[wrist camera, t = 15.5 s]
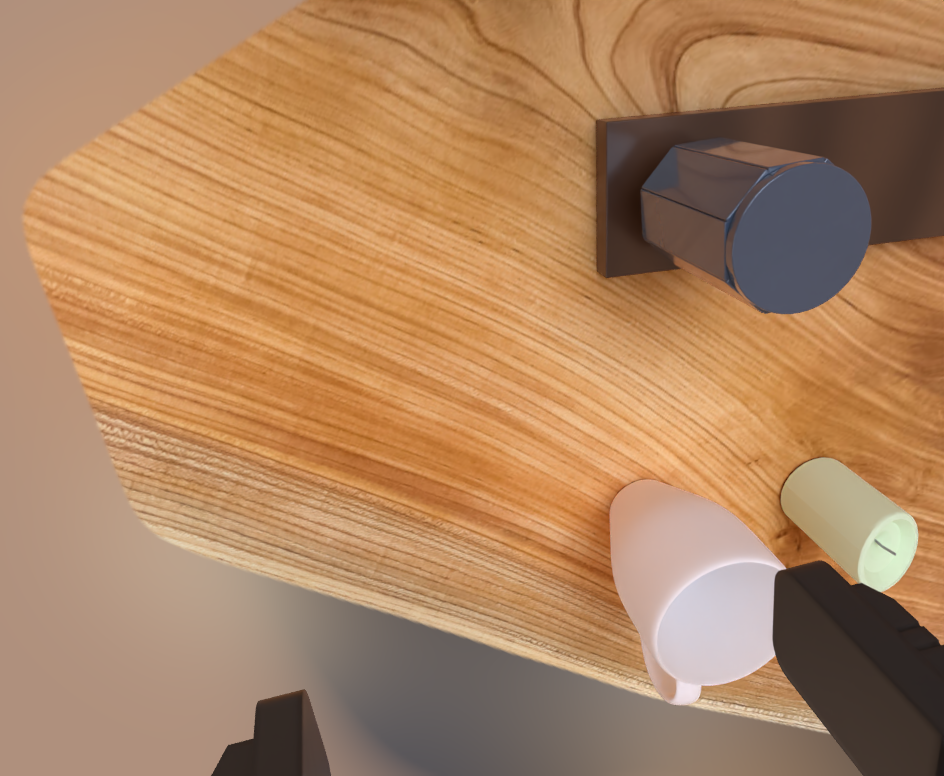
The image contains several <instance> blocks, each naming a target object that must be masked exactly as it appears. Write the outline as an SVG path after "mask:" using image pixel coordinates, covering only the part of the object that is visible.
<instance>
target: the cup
mask: <svg viewBox="0 0 944 776" xmlns="http://www.w3.org/2000/svg"><path fill="white" fill-rule="evenodd" d="M640 193H641V215H642V237H643V238H644V240H645V241H646V242H648V243H649V244H650V245H651V246H653V247H654V248H655V249H656V250H657V251H659V252H660V253H661V254H662V255H664V256H665V257H666V258H667V259H669V260H670V261H671V262H672V263H673V264H675V265H676V266H678V267H680V268H682V269H684V270H685V271H687V272H689V273H691V274H693V275H694V276H696V277H698V278H700V279H702V280H703V281H705V282H707V283H709V284H711V285H712V286H714V287H716V288H718V289H720V290H721V291H723V292H725V293H727V294H728V295H730V296H732V297H734V298H736V299H737V300H739V301H741V302H743V303H745V304H746V305H748V306H750V307H752V308H754V309H755V310H757V311H759V312H761V313H765V314H767V313H771V312H772V313H777V314H794V313H800V312H804V311H808V310H810V309H813V308H815V307H817V306H819V305H821V304H823V303H825V302H826V301H828V300H829V299H831V298H832V297H833V296H835V295H836V294H837V293H838V292H839V291H840V290H841V289H842V288H843V287H844V286H845V285H846V284H847V283H848V282H849V281H850V279H851V278H852V277H853V275H854V274H855V272H856V271H857V269H858V268H859V266H860V264H861V262H862V260H863V258H864V255H865V253H866V250H867V247H868V243H869V239H870V234H871V209H870V205H869V201H868V198H867V196H866V193H865V191H864V190H863V188H862V186H861V185H860V183H859V182H858V181H857V180H856V179H855V178H854V177H853V176H852V175H851V174H850V173H848V172H847V171H845V170H843V169H842V168H840V167H837V166H835V165H834V164H833V163H832V162H831V161H830V160H829V159H828V158H824V157H820V156H815V155H810V154H804V153H799V152H794V151H789V150H783V149H778V148H773V147H768V146H762V145H757V144H752V143H747V142H741V141H736V140H731V139H725V138H720V137H718V138H712V139H707V140H701V141H695V142H690V143H684V144H678V145H675V146H674V147H672V148H671V149H670V150H669V152H668V153H667V154H666V156H665V157H664V158H663V160H662V161H661V162H660V163H659V165H658V166H657V167H656V169H655V170H654V171H653V173H652V174H651V175H650V177H649V178H648V179H647V181H646V182H645V183H644V184H643V186H642V189H641V190H640Z"/></svg>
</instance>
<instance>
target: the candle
mask: <svg viewBox="0 0 944 776" xmlns="http://www.w3.org/2000/svg"><path fill="white" fill-rule="evenodd" d="M780 501H781V506H782V509H783V511H784V513H785V514H786V515H787V516H788V517H789V518H790V519H791V520H792V521H793V522H794V523H795V524H796V525H797V526H798V527H799V528H800V529H801V530H802V531H804V532H805V533H806V534H807V535H808V536H809V537H810V538H811V539H812V540H813V541H814V542H815V543H816V544H817V545H818V546H819V547H820V548H822V549H823V550H824V551H825V552H826V553H827V554H828V555H829V556H830V557H831V558H832V559H833V560H834V561H835V562H836V563H837V564H838V565H839V566H841V567H842V568H843V569H844V570H845V571H846V572H847V573H848V574H849V575H850V576H851V577H852V578H853V579H854V580H855V581H856V582H857V583H858V584H859V583H863V584H865V585H867V586H869V587H871V588H873V589H875V590H877V591H879V592H883V591H885V590H887V589H889V588H891V587H892V586H893V585H894V584H895V583H897V582H898V581H899V580H900V578H901V577H902V576H903V575H904V574H905V572H906V571H907V569H908V567H909V566H910V564H911V562H912V560H913V557H914V555H915V552H916V548H917V543H918V530H917V524H916V522H915V520H914V518H913V517H912V516H911V515H910V514H909V513H907V512H906V511H905V510H903V509H902V508H901V507H899V506H898V505H897V504H895V503H894V502H893V501H891V500H890V499H889V498H887V497H886V496H885V495H883V494H882V493H881V492H879V491H878V490H877V489H875V488H874V487H873V486H871V485H870V484H869V483H867V482H866V481H865V480H863V479H862V478H861V477H859V476H858V475H857V474H855V473H854V472H853V471H851V470H850V469H849V468H847V467H846V466H845V465H843V464H842V463H841V462H839V461H837V460H835V459H833V458H825V457H822V458H817V459H813V460H810V461H808V462H806V463H804V464H803V465H801V466H800V467H798V468H797V469H796V470H795V471H794V472H793V473H792V474H791V475H790V476H789V478H788V479H787V481H786V482H785V484H784V486H783V489H782V492H781V500H780Z"/></svg>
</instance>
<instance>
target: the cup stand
mask: <svg viewBox="0 0 944 776" xmlns="http://www.w3.org/2000/svg"><path fill="white" fill-rule="evenodd" d="M718 137H720V138H725V139H731V140H736V141H741V142H747V143H752V144H757V145H762V146H768V147H773V148H778V149H783V150H789V151H794V152H799V153H804V154H810V155H815V156H820V157H824V158H828V159H829V160H830V161H831V162H832V163H833V164H834V165H835V166H837V167H840V168H842V169H843V170H845V171H847V172H848V173H850V174H851V175H852V176H853V177H854V178H855V179H856V180H857V181H858V182H859V183H860V185H861V186H862V188H863V190H864V191H865V193H866V196H867V198H868V201H869V205H870V209H871V234H870V239H869V243H868V245H873V244H881V243H889V242H897V241H905V240H913V239H921V238H929V237H937V236H944V88H935V89H924V90H913V91H902V92H891V93H881V94H870V95H859V96H848V97H837V98H826V99H816V100H805V101H794V102H783V103H772V104H761V105H751V106H740V107H729V108H718V109H707V110H696V111H686V112H675V113H664V114H653V115H642V116H631V117H621V118H610V119H599V120H597V271H598V272H599V273H600V274H602V275H603V276H604V277H606V278H610V277H618V276H626V275H634V274H642V273H650V272H658V271H666V270H674V269H682V268H680V267H678V266H676V265H675V264H673V263H672V262H671V261H670V260H669V259H667V258H666V257H665V256H664V255H662V254H661V253H660V252H659V251H657V250H656V249H655V248H654V247H653V246H651V245H650V244H649V243H648V242H646V241H645V240H644V238H643V237H642V215H641V193H640V190H641V189H642V186H643V184H644V183H645V182H646V181H647V179H648V178H649V177H650V175H651V174H652V173H653V171H654V170H655V169H656V167H657V166H658V165H659V163H660V162H661V161H662V160H663V158H664V157H665V156H666V154H667V153H668V152H669V150H670V149H671V148H672V147H674V146H675V145H678V144H684V143H690V142H695V141H701V140H707V139H712V138H718Z"/></svg>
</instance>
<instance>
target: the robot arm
mask: <svg viewBox="0 0 944 776" xmlns="http://www.w3.org/2000/svg"><path fill="white" fill-rule="evenodd" d="M772 640H773V647H774V651H775V655H776V658H777V660H778V663H779V665H780V667H781V669H782V671H783V672H784V674H785V676H786V677H787V678H788V680H789V681H790V682H791V683H792V685H793V686H794V687H795V689H796V690H797V691H798V692H799V694H800V695H801V696H802V698H803V699H804V700H805V701H806V703H807V704H808V705H809V707H810V708H811V709H812V710H813V712H814V713H815V714H816V716H817V717H818V718H819V719H820V721H821V722H822V723H823V725H824V726H825V727H826V728H827V730H828V731H829V732H830V734H831V735H832V736H833V737H834V739H835V740H836V741H837V743H838V744H839V745H840V746H841V748H842V749H843V750H844V752H845V753H846V754H847V755H848V757H849V758H850V759H851V760H852V762H853V763H854V764H855V766H856V767H857V768H858V770H859V771H860V772H861V773H862V775H863V776H944V645H940V644H939V640H938V639H937V638H936V637H935V636H934V635H932V634H931V633H930V632H929V631H928V630H927V629H926V628H925V627H924V626H922V627H921V626H920V625H919V623H918V621H917V620H916V619H915V618H914V617H913V616H912V615H911V614H910V613H908V612H907V611H906V610H905V609H904V608H903V607H902V606H901V605H900V604H899V603H898V602H896V601H895V600H894V599H893V598H891V597H889V596H887V595H885V594H883V593H881V592H879V591H877V590H875V589H873V588H871V587H869V586H867V585H865V584H863V583H859V584H855V585H850V584H849V583H848V582H847V581H846V580H845V579H844V578H843V577H842V576H841V575H840V574H839V573H838V572H836V571H835V570H834V569H833V568H832V567H831V566H830V565H829V564H828V563H826V562H824V561H815V562H811V563H807V564H803V565H799V566H795V567H791V568H787V569H784V570H780V571H778V572H777V573H776V575H775V580H774V605H773V634H772ZM211 776H331V773H330V768H329V763H328V759H327V755H326V752H325V749H324V745H323V742H322V739H321V735H320V732H319V729H318V725H317V722H316V719H315V716H314V712H313V709H312V706H311V703H310V699H309V697H308V694H307V692H306V690H300V691H296V692H292V693H289V694H284V695H280V696H276V697H272V698H268V699H264V700H260V701H258V703H257V706H256V713H255V726H254V739H250V740H246V741H243V742H239V743H235V744H231V745H228V746H227V748H226V750H225V752H224V753H223V755H222V757H221V759H220V761H219V763H218V764H217V767H216V768H215V770H214V772H213V774H212V775H211Z"/></svg>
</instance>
